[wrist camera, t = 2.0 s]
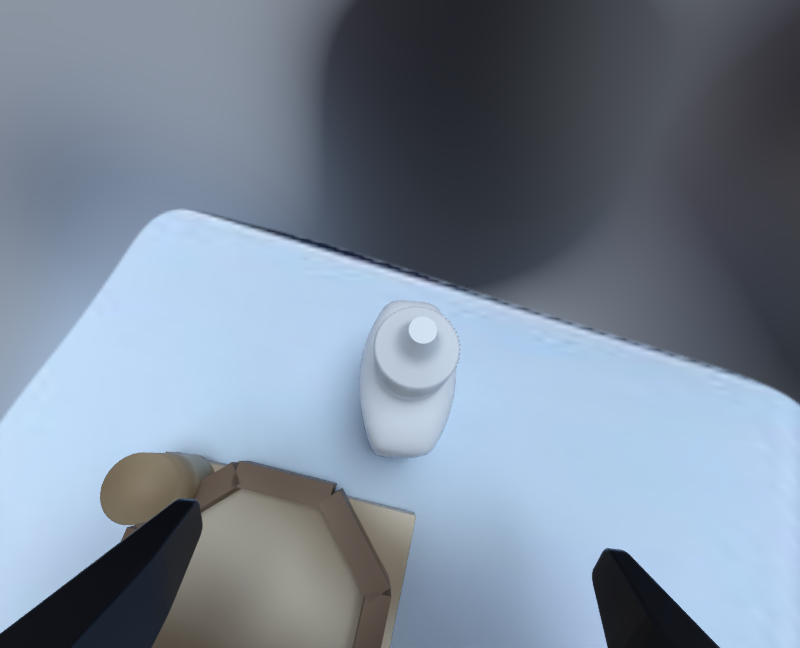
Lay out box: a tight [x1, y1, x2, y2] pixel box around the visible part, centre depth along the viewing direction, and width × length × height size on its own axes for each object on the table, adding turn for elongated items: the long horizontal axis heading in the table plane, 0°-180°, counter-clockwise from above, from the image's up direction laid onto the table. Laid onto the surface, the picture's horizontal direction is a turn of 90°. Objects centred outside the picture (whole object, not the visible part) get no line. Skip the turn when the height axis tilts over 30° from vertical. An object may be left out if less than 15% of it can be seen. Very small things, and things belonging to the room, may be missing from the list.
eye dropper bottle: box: [359, 300, 461, 458], centre depth 15 cm, size 4×6×12 cm
